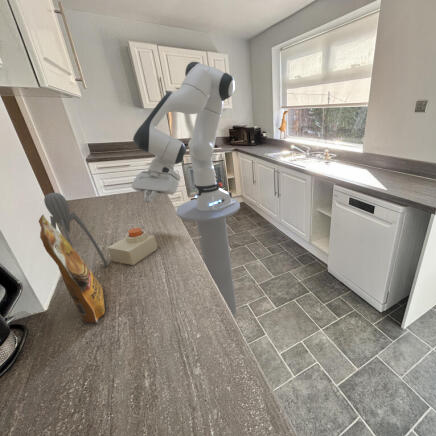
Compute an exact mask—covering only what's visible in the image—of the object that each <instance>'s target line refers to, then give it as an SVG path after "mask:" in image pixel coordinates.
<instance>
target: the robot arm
mask: <svg viewBox="0 0 436 436" xmlns="http://www.w3.org/2000/svg"><path fill="white" fill-rule="evenodd" d="M184 72H185V74H184V75H185V77H184V79H183V81H182V82H181V85H180V87H179V88H178V89H177V90H176V91H173V92H172V91H168V92H167V93H165V95H164V96H163V97H162V98H161V99H160V100H159V102H158V103H157V105H156V106H155V107H154V108H153V110H152V111H150V113H149V115H148V116H147V118H146V119H145V120H144V121H143V122H142V124H141V125H140V126H138V128H137V129H135V131H134V133H133V138H132V141H133V143H134V144H135V145H134V146H136V147H137V149H138V150H141V151H143V152H145V153H150V154H152V155H154V158H152V160H151V162H150V164H149V166H148V168H147V171H146V170H142V171H141V172H139V173H138V174H137V175H136V176H135V178H134V179H133V181H132V183H131V189H133V190H134V191H137V192H143V194H144V197H143V201H144V202H146V203H153V201H154V199H156V197H158V196H159V194H161V195H169V196H170V195H171V196H173V195H174V194H176V193H177V190H178V187H179V184H180V180H181V178H182V177H181V176H180V174H179V173H177V172H176V171H174V169H175V165H178V164H181V163H182V162H183V161H184V156H185V155H186V152H187V148H188V152H189V157H190V162H191V166H192V167H191V169H192V173H193V178H194V191H195V196H194V199H197V206H196V209H197V210H200V211H219V210H221V209H224V208H226V207H228V206H231V205H233V204H235V201H234V200H233V199H234V198H233V199H231V198H232V197H233V196H232V195H233V194H232V192H230V191H227V190H225V189H223V188H222V187H223V183H222V182H217V179H216V172H215V167H214V163H213V158H212V157H213V156H214V150H215V145H216V138H217V133H218V129H219V124H220V121H221V117H222V112H223V110H224V109H223V108H224V102H225V101H226V100H228V99H230V98H231V97H232V95H233V93H234V91H235V84H236V83H235V79H234V77H233V76H232V75H231V74H229V73H228V72H224V71H222V70H221V69H219V68H216V67H215V66H210V65H207V64H204V63H201V62H199V61H191V62H189V63H188V64H187V65H186V68H185V71H184ZM172 112H174V113H181V114H185V115H196V117H195V120H194V127H193V132H192V136H191V138H190V139H189V141H188V144H187V145H188V147H186V145H185V143H184V142H183V141H182V140H180V139H178V138H176V137H174V136H171V135H170V134H167V133H165V132H163V131H161V130H159V129H158V128H157V127H158V125H160V122H161V121H162V120H163V118H165V116H166V115H167V114H168V113H172Z"/></svg>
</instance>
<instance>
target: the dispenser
mask: <svg viewBox="0 0 436 436" xmlns="http://www.w3.org/2000/svg"><path fill="white" fill-rule="evenodd" d="M141 230H142V233H143V234H142V235H140V236H137V237H130V236H129V233H128V232H127V233H126V234H125V235H124V238H122V239H120V240H118V241H117V242H115V243H113V244H111V245H109V246H107V247H106V248H107V251H108V254H109V256H110V259H111V261H112V262H116V263H120V264H124V265H125V264H126V265H130V266H135V265H136V264H138V263H139V262H140V261H142V260H143V259H145V258H147V257H148V256H149V255H151V254H152V253H154V252H155V251H157V250H158V245H157V241H156V236H155V235H151V234H148V231H146V229H141Z"/></svg>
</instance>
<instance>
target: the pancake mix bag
mask: <svg viewBox="0 0 436 436" xmlns="http://www.w3.org/2000/svg"><path fill="white" fill-rule="evenodd" d="M38 223H39V226H40V232H39V233H40V234H39V238H40V240H41V242H42V245H43V248H44V249H45V251H46V253H47V254H48V255H49V257H51V259H52V260H53V261H54V263H55V264H56V265H57V267H58V270H59V272H60V275H61V277H62V281H63V283H64V285H65V287H66V289H67V291H68V293H69V295H70V297H71V299H72V301H73V302H74V304H75V306H76V309H77V311H78V312H79V314H80V315H81V317H82V319H83V321H84V322H86V323H89V324H98V321H99V319H100V318H101V317H103V316H104V315H105V313H106V308H105V300H104V299H105V298H104V290H103V288H102V285H101V284H100V282H99V281H98V279H97V278H96V276H95V275H94V273H93V271H92V270H91V269H90V268H89V266H88V265H87V264H86V262H84V260H83V258H82V257H81V256H80V255H79V253H78V252H77V250H76V249H75V248H74V247H73V248H74V249H73V248H72V246H71V245H70V243H69V242H68V240H67V238H66V237H65V236H64V235H63V234H62V233H60V231H58V229H57V228H56V229H55V228H54V227H53V226H52V225H51V222H49V221H48V219H47V218H46V217H45V215H44V214H41V216H40V217H39V219H38Z"/></svg>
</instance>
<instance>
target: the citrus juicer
mask: <svg viewBox="0 0 436 436" xmlns="http://www.w3.org/2000/svg"><path fill="white" fill-rule="evenodd" d="M43 199H44V200H43V201H44V206H45V208H46V209H47V211H48V212H49V214H50V215H49V218H50V224H51V225H52V226H53V227H54V228H55V229H56V230H57V224H59V225H60V226H61V227H62V229H63V232H64V235H65V239H66V240H67V241H68V242H69V243H70V245H71V246H72V248H73V249H74V250H75V248H74V246H73V243H72V241H71V238H70V236H69V233H70V231H71V229H70V228H71V222H72V221H73V220H74V221H75V222H76V224H78V225H79V226H80V227H81V229H82V230H83V231H84V233H85V234H86V236H87V237H88V238H89V240H90V241H91V243H92V245H93V246H94V248H95V249H96V251H97V253H98V255H99V257H100V258H101V260H102V263H103V265H104V267H105V268H106V267H108V263H107V260H106V258H105V256H104V254H103V252H102V250H101V248H100V246H99V245H98V243H97V242H96V240H95V238H94V237H93V235H92V233H91V232H90V231H89V228H88V227H87V226H86V225H85V224H84V222H83V221H82V220H81V218H80V217H79V216H78V215H77V213H76V212H75V211H73V212H72V213H71V212H70V207H69V203H68V201H67V199H66V198H65V196H64V195H63V194H61V193H59V192H50V193H47V194H46V195H44V198H43Z"/></svg>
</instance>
